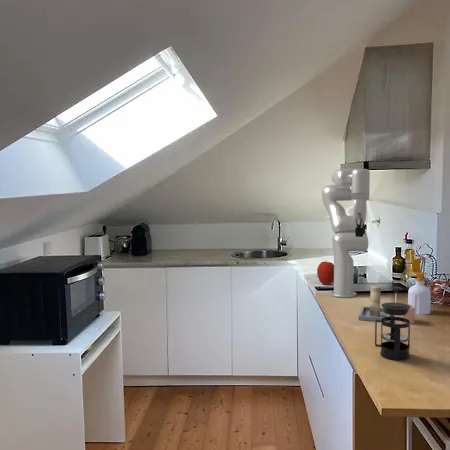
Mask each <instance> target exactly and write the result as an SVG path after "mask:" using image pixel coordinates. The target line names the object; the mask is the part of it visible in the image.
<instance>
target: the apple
mask: <svg viewBox="0 0 450 450" xmlns="http://www.w3.org/2000/svg"><path fill="white" fill-rule="evenodd" d="M316 273H317V275H316V276H317V278H318V281H319V283H321V284H322V285H331V284H332V283H334V262H330V261H327V260H325V261H322V262H320V263H319V264H318V266H317V268H316Z"/></svg>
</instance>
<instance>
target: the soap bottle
mask: <svg viewBox="0 0 450 450" xmlns="http://www.w3.org/2000/svg"><path fill="white" fill-rule="evenodd" d="M425 259H427V257H417V258H413V259H412V260H411V273H412V274H415V275H416V277H417V278H416V279H415V284H414V285H412V286H410V287H409V288H408V292H407V293H408V295H407V296H408V297H407V304H409V305H413V306H415V315H423V316H424V315H430V314H431V302H432V301H431V299H432V291H431V289H430V288H429V287H427V286H426V285H425V284H424V283H425V279H423V277H424V275H427V273H426V272H422V271H421V261H423V260H425Z"/></svg>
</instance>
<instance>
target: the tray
mask: <svg viewBox="0 0 450 450" xmlns="http://www.w3.org/2000/svg"><path fill="white" fill-rule="evenodd" d="M390 316H391V315H389V314H386V313H384V312H383V307H380V316H379V317H372V316H370V306H364V305H363V306H361V308H360V311H359V314H358V319H357V321H363V322H364V321H365V322H374V323H375V320H381V319H382V318H383V317H390ZM384 322H387V323H390V322H391V320H388V321H384Z"/></svg>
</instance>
